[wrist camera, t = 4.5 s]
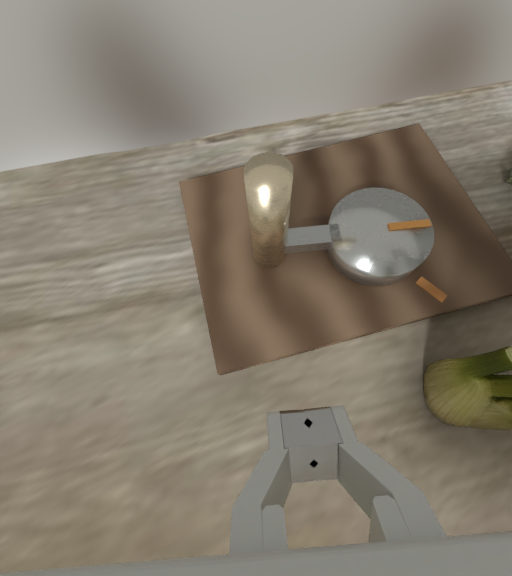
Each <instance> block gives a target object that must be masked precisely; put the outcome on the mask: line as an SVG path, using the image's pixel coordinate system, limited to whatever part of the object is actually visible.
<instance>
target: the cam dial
mask: <svg viewBox="0 0 512 576" xmlns="http://www.w3.org/2000/svg"><path fill="white" fill-rule="evenodd" d="M243 175H244V182H245V190H246V198H247V205H248V213H249V221H250V228H251V236H252V244H253V251H254V258H255V260H256V262H257V263H258V264H259V265H261V266H263V267H266V268H274V267H277V266H279V265H280V264H281V263H282V262H283V261H284V260H285V257H286V254H287V253H298V252H308V251H318V250H325V251H326V254H327V256H328V259H329V260H330V262H331V264H332V265H333V266H334V267H335V269H336V270H337V271H338V272H339V273H341V274H342V275H343V276H345V277H346V278H348V279H350V280H352V281H354V282H356V283H359V284H362V285H367V286H375V287H376V286H387V285H391V284H395V283H397V282H399V281H401V280H403V279H404V278H406V277H407V276H408V275H409V274H410V273H411V272H412V271H414V270H415V269H416V268H417V267H418V266H419V265H420V264H421V263H422V262H423V261H424V260H425V259H426V258H427V257H428V255H429V254H430V252H431V250H432V247H433V243H434V229H433V225H432V222H431V220H430V218H429V216H428V215H427V213H426V212H425V210H424V209H423V208H422V207H421V206H420V205H419V204H418V203H417V202H416V201H414V200H413V199H412V198H410V197H408V196H407V195H405V194H403V193H400V192H398V191H395V190H391V189H386V188H365V189H360V190H357V191H354V192H352V193H350V194H348V195H347V196H345V197H344V198H342V199H341V200H340V201H339V202H338V203H337V205H336V206H335V208H334V209H333V211H332V214H331V217H330V220H329V223H328V225H320V226H309V227H299V228H289V229H288V226H289V215H290V204H291V193H292V182H293V166H292V164H291V162H290V161H289V160H288V159H287V158H286V157H284V156H282V155H280V154H277V153H270V152H269V153H261V154H258V155H256V156H254V157H252V158H251V159H250V160H249V161H248V162H247V163H246V165H245V167H244V171H243Z"/></svg>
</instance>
